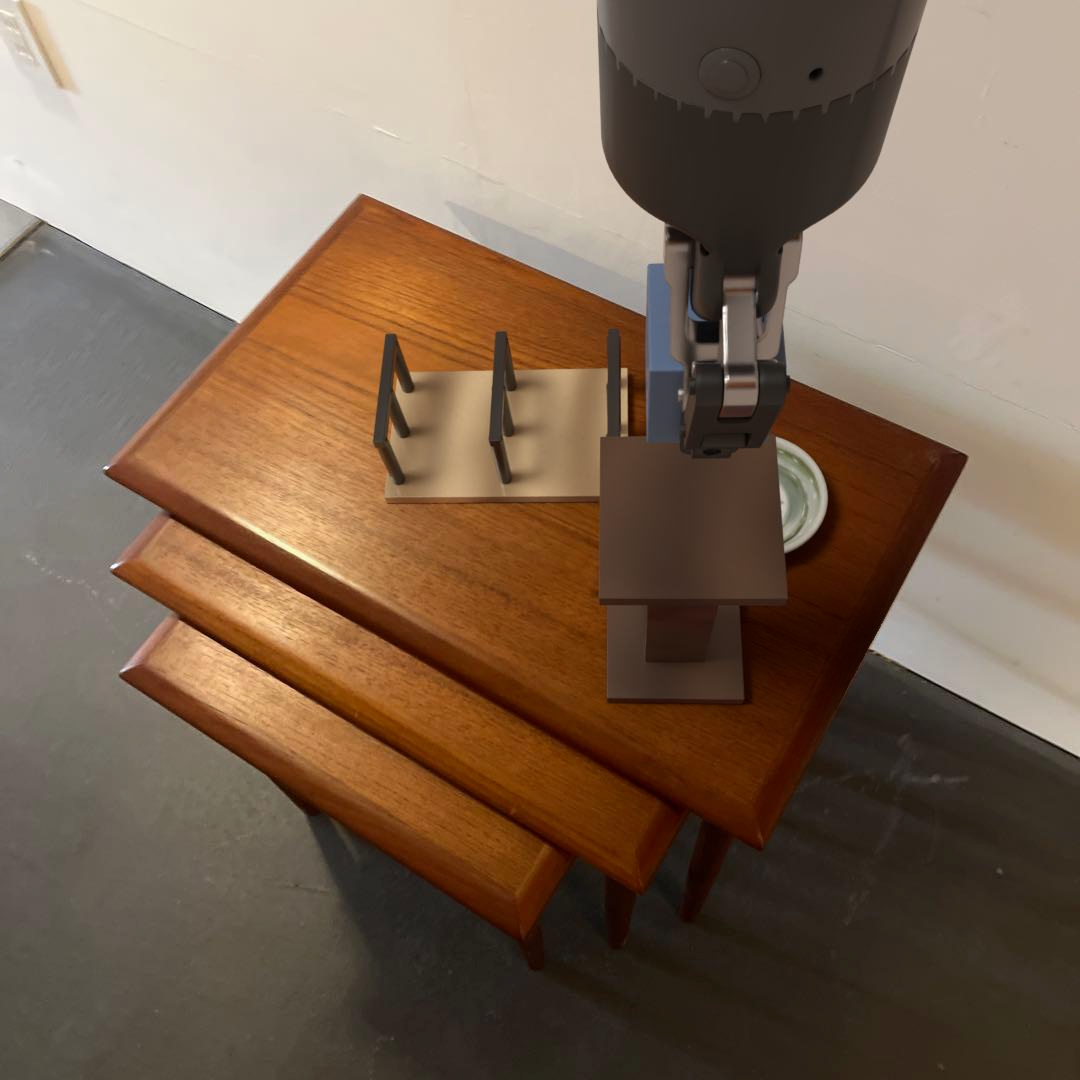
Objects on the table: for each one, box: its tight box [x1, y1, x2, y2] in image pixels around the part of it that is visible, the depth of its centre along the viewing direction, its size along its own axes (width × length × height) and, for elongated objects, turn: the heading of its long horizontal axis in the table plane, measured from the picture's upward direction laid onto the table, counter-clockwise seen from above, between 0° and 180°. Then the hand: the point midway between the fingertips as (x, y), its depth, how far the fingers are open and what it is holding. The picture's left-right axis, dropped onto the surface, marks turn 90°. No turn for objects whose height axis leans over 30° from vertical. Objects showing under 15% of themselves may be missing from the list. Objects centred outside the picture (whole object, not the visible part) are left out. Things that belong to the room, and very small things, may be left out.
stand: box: [598, 434, 789, 705], centre depth 58 cm, size 9×9×20 cm
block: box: [644, 262, 788, 443], centre depth 36 cm, size 5×5×5 cm
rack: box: [372, 328, 629, 504], centre depth 71 cm, size 18×11×7 cm, turn 88°
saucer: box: [776, 436, 829, 554], centre depth 69 cm, size 10×10×2 cm
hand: (705, 386), depth 38 cm, fingers closed on block, 4 cm apart
